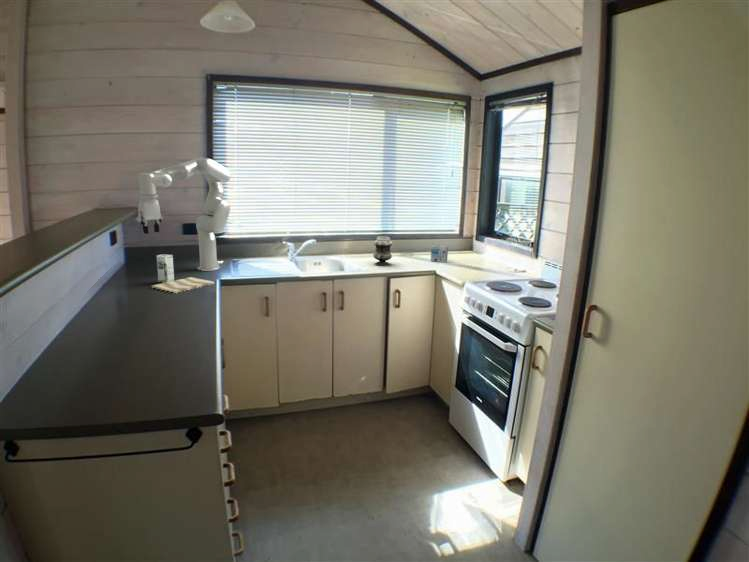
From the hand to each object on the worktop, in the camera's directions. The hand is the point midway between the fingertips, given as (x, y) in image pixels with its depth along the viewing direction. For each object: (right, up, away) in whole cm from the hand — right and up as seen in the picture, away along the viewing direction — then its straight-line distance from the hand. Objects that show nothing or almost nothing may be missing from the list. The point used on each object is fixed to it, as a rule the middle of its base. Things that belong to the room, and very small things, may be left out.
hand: (151, 232), depth 248 cm
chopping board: (+19, -28, -5) cm, 34 cm away
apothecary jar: (+122, -15, +62) cm, 138 cm away
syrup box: (+7, -26, +2) cm, 27 cm away
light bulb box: (+161, -12, +78) cm, 179 cm away
